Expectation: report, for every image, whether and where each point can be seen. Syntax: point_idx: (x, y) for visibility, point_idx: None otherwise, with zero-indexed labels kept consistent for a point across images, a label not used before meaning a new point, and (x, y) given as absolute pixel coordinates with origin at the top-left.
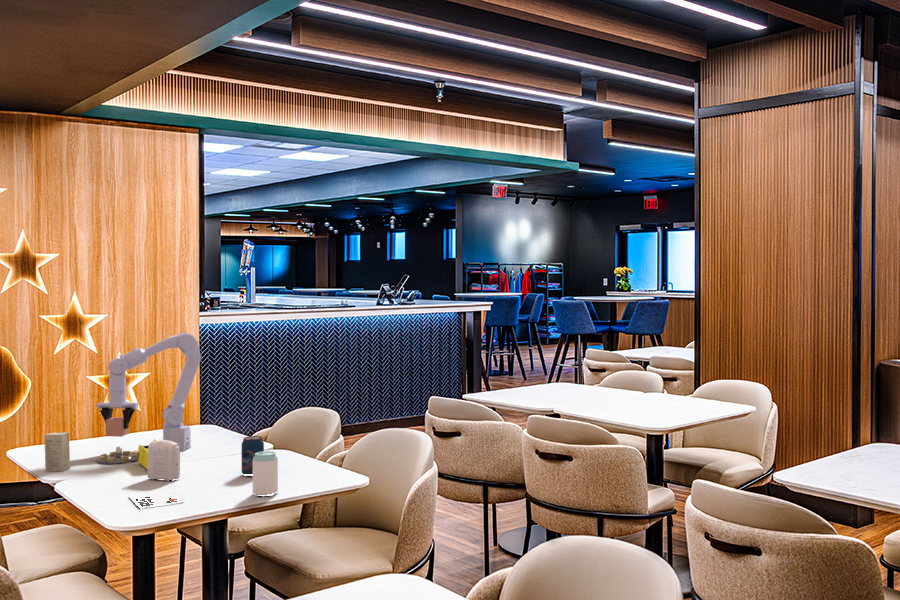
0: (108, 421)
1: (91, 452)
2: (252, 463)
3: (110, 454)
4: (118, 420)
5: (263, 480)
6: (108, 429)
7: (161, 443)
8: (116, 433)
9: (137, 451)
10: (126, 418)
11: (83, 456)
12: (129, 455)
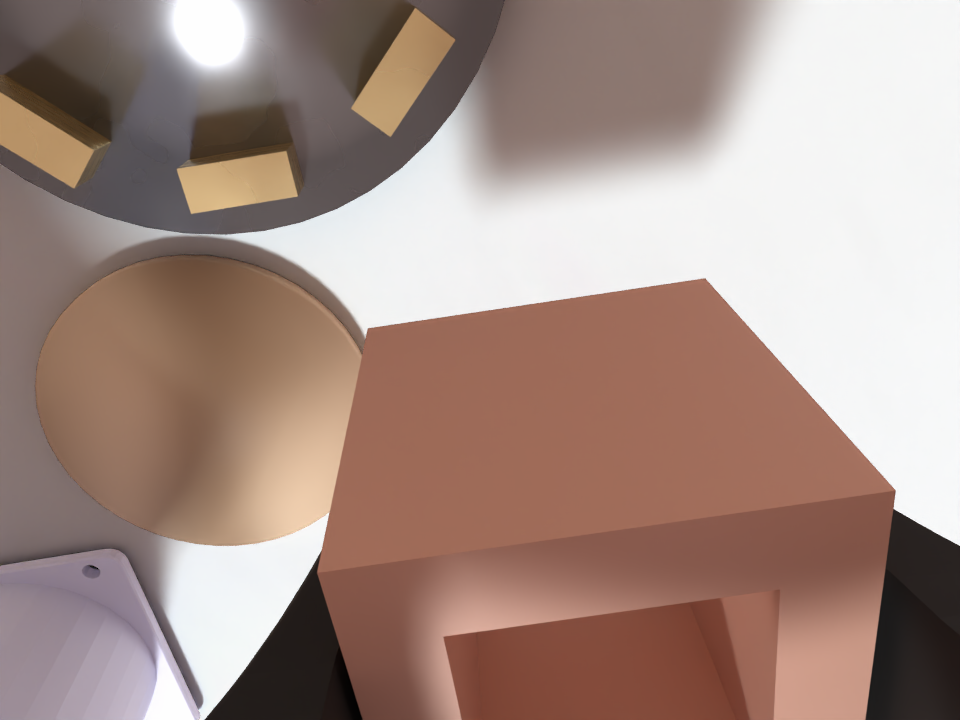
0: (773, 470)
1: (909, 328)
2: None
3: (417, 8)
4: (428, 545)
5: None
6: (689, 352)
7: None
8: (472, 338)
9: (299, 425)
10: (221, 706)
11: (908, 69)
12: (110, 72)
